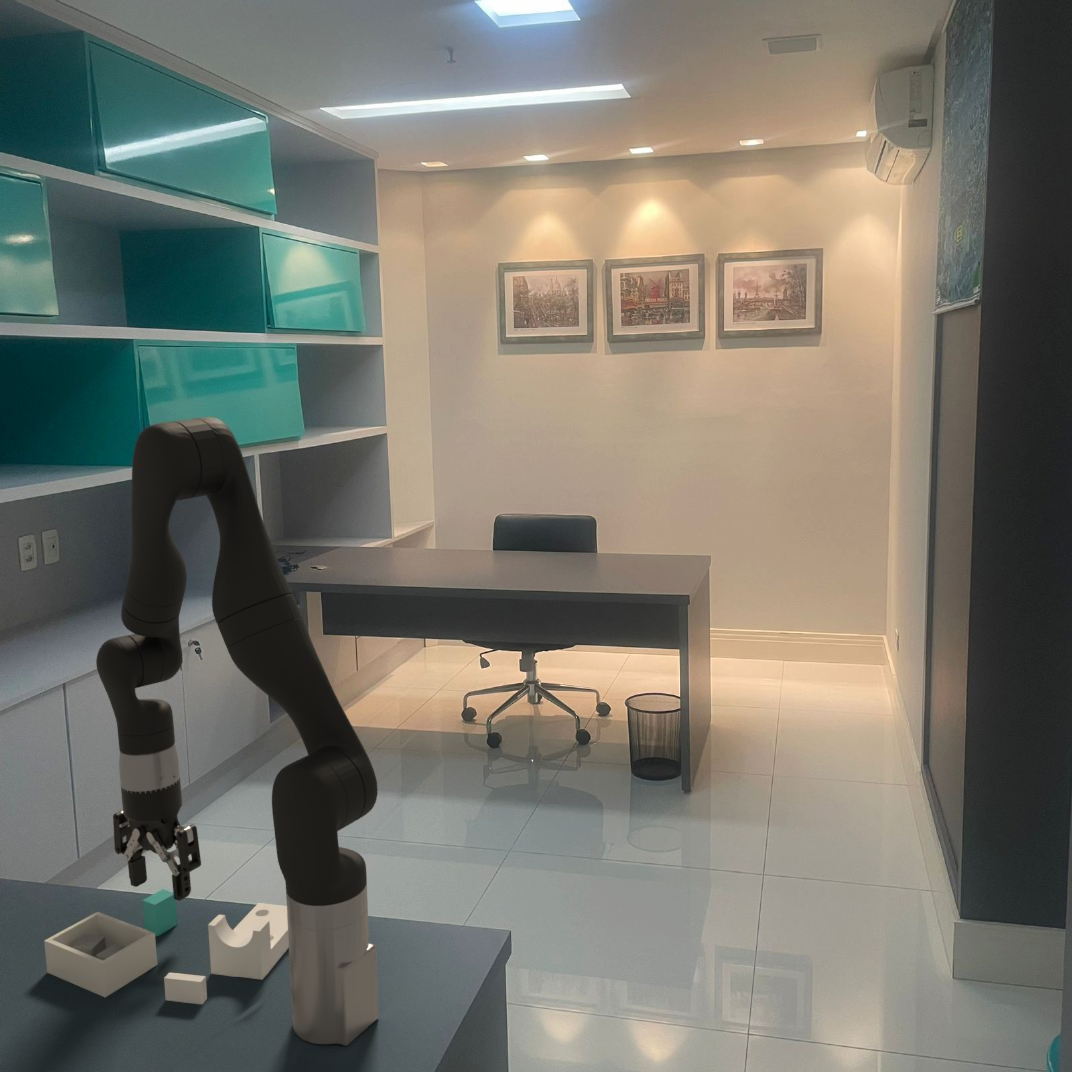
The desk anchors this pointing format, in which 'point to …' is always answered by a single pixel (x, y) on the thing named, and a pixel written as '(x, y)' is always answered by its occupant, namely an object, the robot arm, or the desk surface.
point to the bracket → (249, 942)
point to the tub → (97, 972)
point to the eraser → (185, 988)
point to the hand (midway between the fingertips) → (160, 890)
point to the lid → (159, 912)
